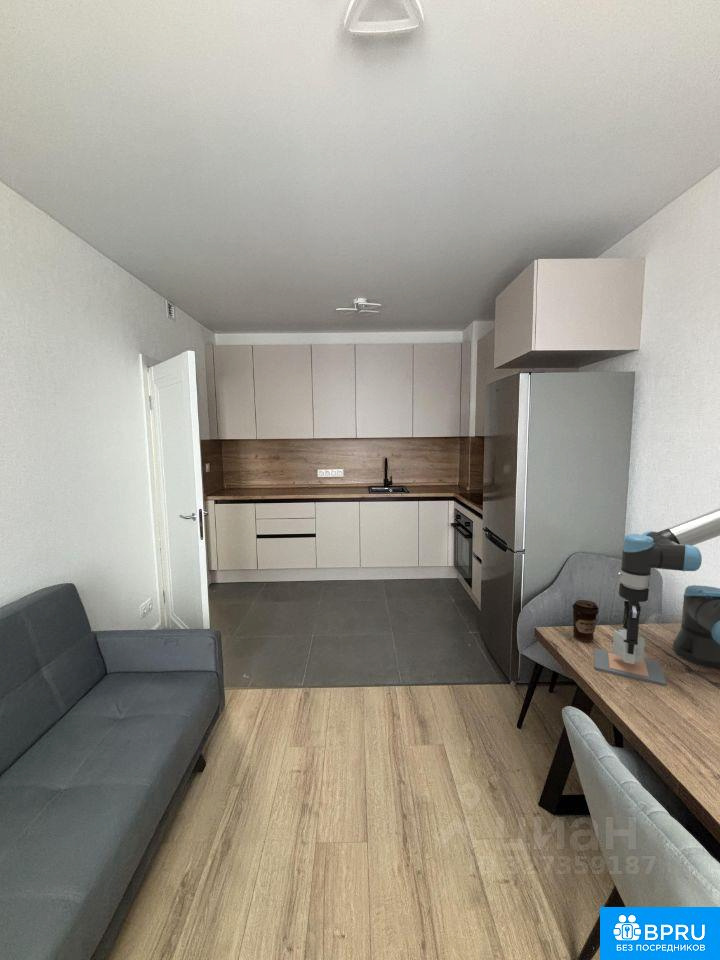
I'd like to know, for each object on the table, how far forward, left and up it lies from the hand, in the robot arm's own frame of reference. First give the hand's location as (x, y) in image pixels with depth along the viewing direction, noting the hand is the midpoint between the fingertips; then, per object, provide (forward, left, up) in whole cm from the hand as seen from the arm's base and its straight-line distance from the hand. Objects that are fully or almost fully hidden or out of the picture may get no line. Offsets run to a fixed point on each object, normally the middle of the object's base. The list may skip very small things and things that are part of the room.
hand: (627, 655), depth 131 cm
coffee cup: (+12, -14, -4) cm, 19 cm away
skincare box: (0, 0, -1) cm, 1 cm away
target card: (0, 0, -4) cm, 4 cm away
